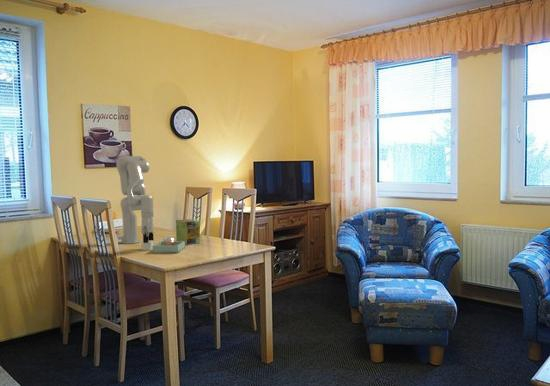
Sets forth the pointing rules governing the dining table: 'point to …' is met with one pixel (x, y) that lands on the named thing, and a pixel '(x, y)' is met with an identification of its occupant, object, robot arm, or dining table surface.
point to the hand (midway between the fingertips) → (148, 241)
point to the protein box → (188, 231)
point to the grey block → (147, 245)
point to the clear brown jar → (169, 241)
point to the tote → (168, 247)
